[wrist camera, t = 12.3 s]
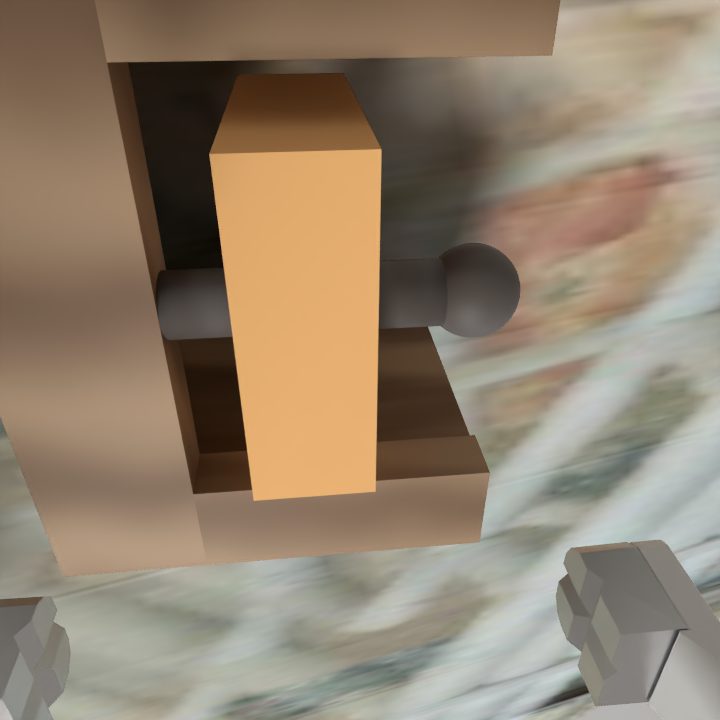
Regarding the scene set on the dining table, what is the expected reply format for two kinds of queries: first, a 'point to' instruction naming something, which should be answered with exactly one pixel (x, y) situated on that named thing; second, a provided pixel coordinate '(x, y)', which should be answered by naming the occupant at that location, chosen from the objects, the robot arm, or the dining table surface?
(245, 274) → the wooden arch block
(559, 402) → the dining table surface
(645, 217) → the dining table surface
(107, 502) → the notched shelf
